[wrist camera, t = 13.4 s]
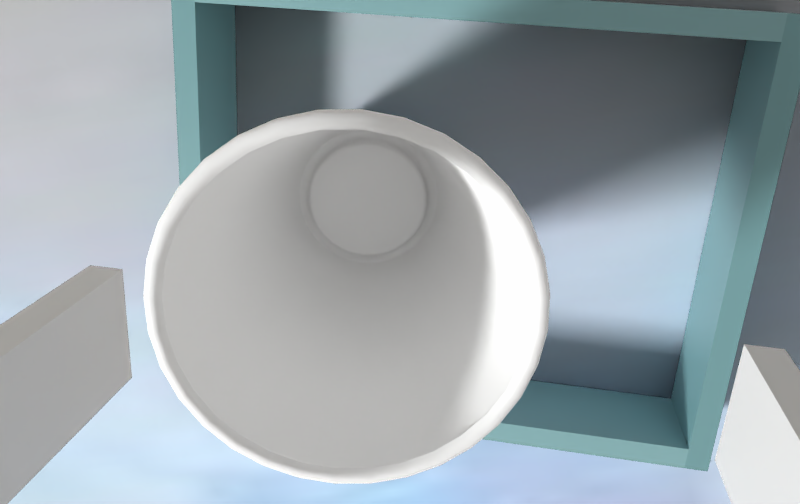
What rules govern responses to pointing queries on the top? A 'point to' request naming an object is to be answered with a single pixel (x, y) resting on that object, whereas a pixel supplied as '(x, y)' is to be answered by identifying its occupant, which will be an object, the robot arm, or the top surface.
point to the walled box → (725, 236)
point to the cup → (346, 296)
